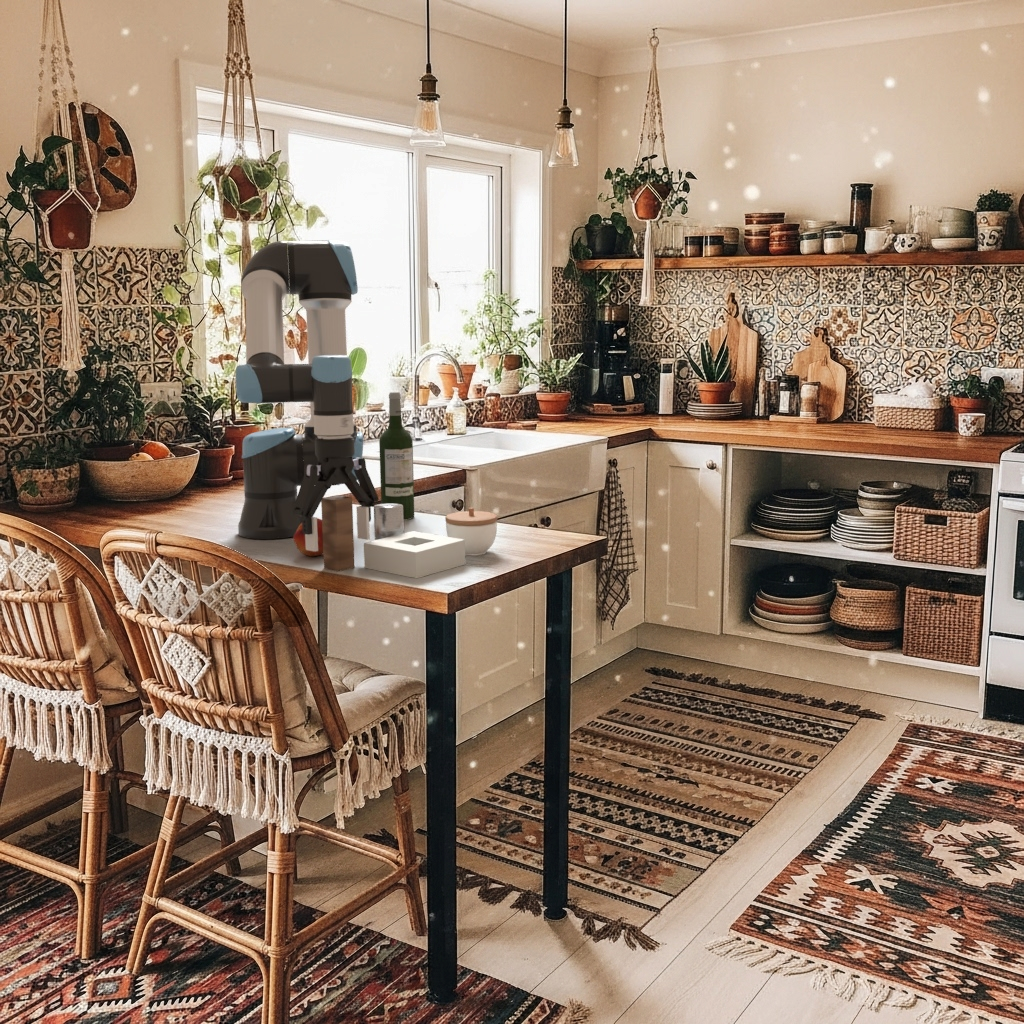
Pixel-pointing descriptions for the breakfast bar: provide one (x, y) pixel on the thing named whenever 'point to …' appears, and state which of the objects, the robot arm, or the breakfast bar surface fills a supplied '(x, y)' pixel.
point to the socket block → (414, 554)
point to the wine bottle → (397, 461)
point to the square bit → (337, 533)
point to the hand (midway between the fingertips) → (338, 544)
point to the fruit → (300, 540)
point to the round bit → (388, 520)
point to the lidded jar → (473, 530)
